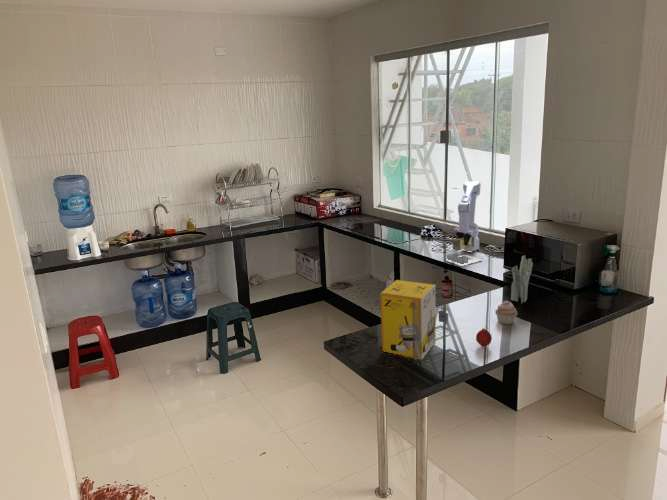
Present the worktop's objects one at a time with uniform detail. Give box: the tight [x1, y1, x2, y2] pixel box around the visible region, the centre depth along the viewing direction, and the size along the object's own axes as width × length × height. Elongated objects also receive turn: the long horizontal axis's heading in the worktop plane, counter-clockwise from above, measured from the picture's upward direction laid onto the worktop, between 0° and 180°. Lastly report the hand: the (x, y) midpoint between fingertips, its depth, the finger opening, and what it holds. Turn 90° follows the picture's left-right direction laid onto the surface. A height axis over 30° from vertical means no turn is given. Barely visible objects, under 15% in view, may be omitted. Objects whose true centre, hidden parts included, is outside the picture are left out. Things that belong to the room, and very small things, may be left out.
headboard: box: [446, 252, 482, 264], centre depth 299 cm, size 16×14×4 cm
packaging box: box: [379, 279, 437, 360], centre depth 195 cm, size 16×16×25 cm
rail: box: [452, 237, 474, 252], centre depth 300 cm, size 13×4×6 cm, turn 118°
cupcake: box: [495, 300, 518, 326], centre depth 214 cm, size 9×9×10 cm
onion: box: [475, 327, 493, 348], centre depth 195 cm, size 6×6×8 cm
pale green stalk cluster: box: [510, 255, 534, 304], centre depth 236 cm, size 28×7×20 cm, turn 148°
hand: (463, 244), depth 301 cm, fingers closed on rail, 4 cm apart
